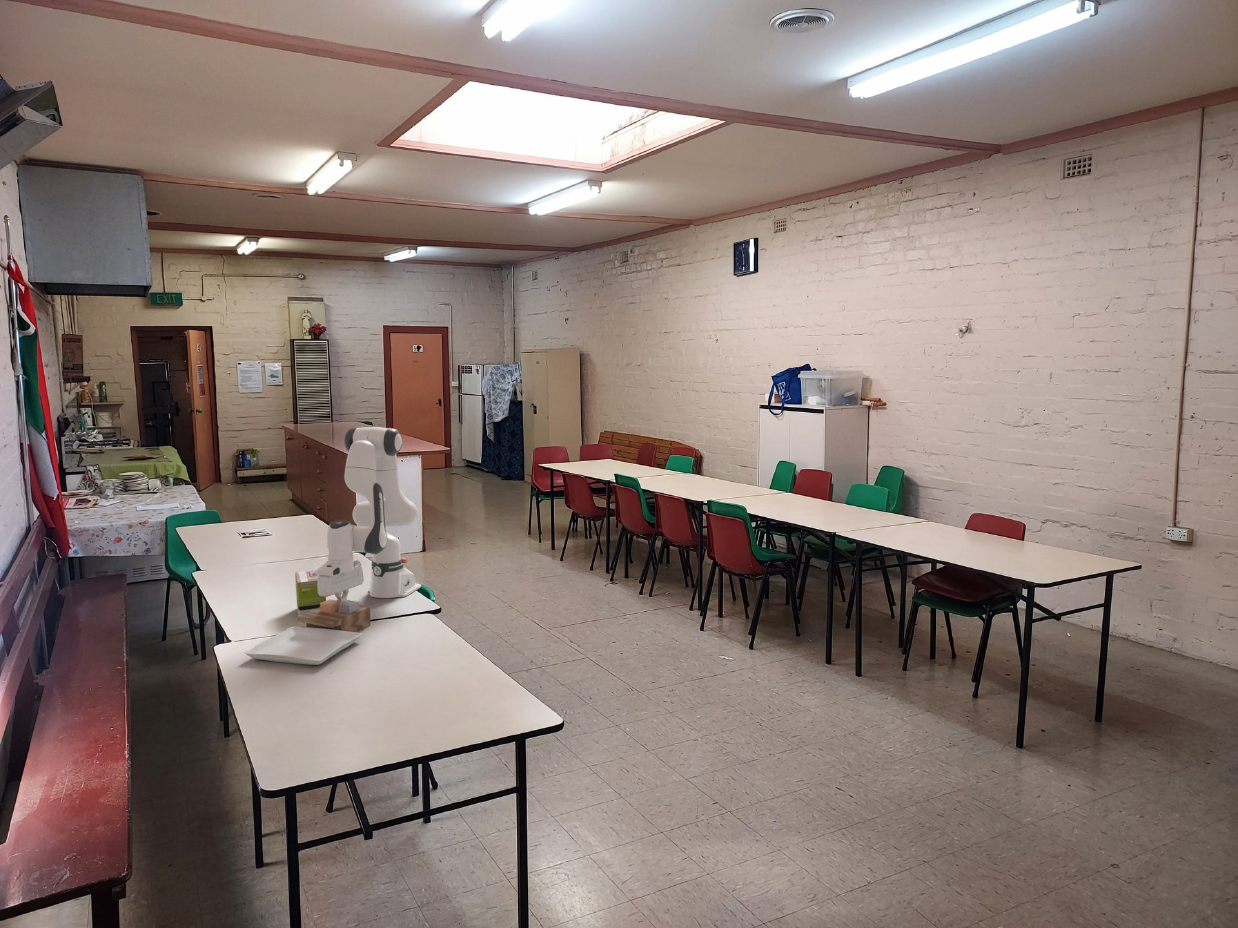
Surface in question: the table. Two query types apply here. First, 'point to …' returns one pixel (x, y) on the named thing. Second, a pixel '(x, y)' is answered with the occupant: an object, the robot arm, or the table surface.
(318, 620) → the wooden box
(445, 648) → the table surface
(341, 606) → the tile
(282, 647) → the square plate
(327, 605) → the tile
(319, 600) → the tea box
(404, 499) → the robot arm
